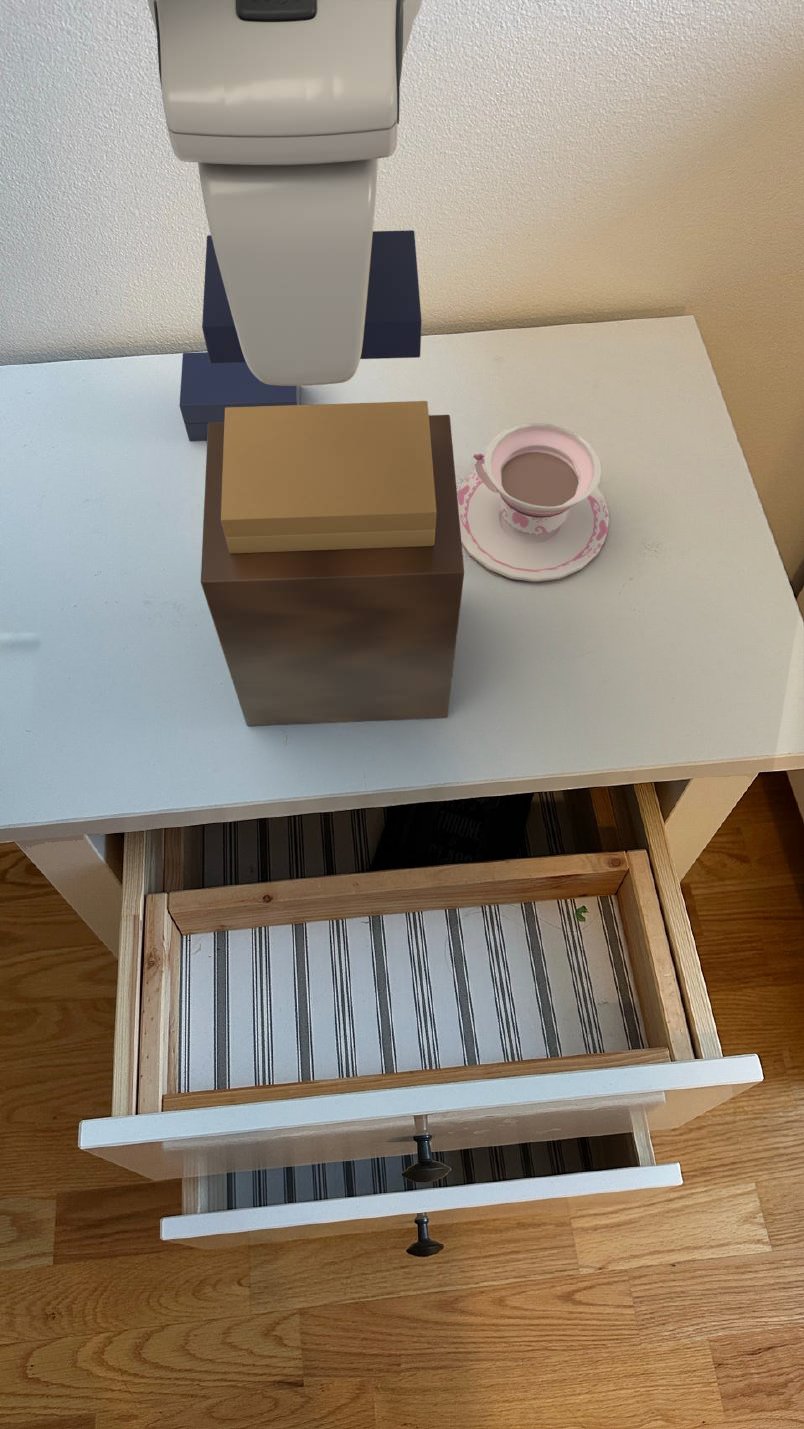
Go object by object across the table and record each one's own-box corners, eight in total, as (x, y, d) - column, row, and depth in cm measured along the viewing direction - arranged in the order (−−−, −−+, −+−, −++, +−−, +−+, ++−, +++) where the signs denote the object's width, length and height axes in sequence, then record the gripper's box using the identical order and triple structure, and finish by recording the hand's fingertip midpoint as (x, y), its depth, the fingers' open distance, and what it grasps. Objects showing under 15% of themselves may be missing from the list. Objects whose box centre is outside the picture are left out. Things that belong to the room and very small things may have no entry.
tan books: (229, 554, 52) (220, 519, 50) (232, 445, 56) (224, 407, 53) (434, 546, 53) (436, 512, 50) (425, 438, 56) (427, 400, 53)
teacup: (622, 479, 77) (640, 424, 72) (588, 601, 72) (604, 553, 67) (476, 442, 79) (482, 386, 73) (433, 560, 74) (436, 509, 68)
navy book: (209, 364, 42) (201, 327, 40) (214, 273, 44) (206, 234, 42) (420, 358, 42) (421, 321, 40) (413, 268, 44) (414, 229, 43)
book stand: (246, 726, 68) (200, 582, 52) (249, 592, 73) (207, 422, 56) (447, 718, 68) (464, 572, 52) (437, 585, 73) (449, 414, 57)
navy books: (189, 441, 79) (179, 405, 75) (192, 389, 81) (182, 352, 78) (301, 437, 79) (296, 401, 75) (300, 386, 81) (296, 349, 78)
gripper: (192, -230, 34) (244, 147, 47) (158, 148, 25) (234, 489, 38) (371, -231, 35) (376, 144, 47) (400, 143, 26) (396, 484, 38)
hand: (312, 301), depth 42 cm, fingers closed on navy book, 5 cm apart
